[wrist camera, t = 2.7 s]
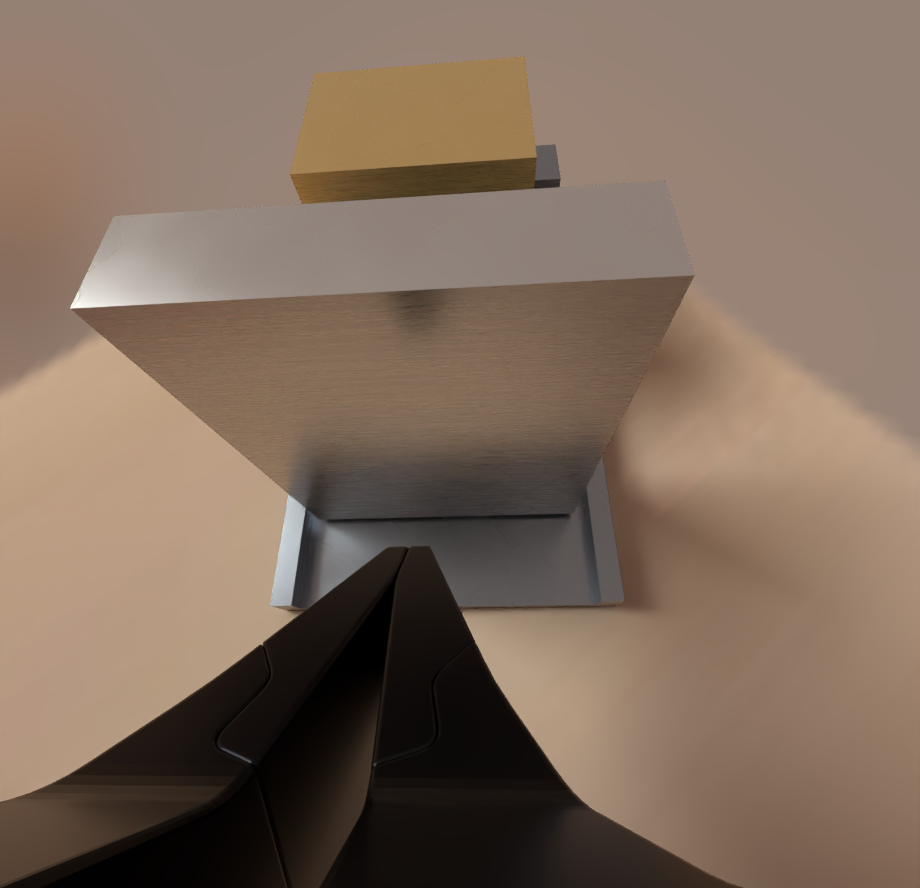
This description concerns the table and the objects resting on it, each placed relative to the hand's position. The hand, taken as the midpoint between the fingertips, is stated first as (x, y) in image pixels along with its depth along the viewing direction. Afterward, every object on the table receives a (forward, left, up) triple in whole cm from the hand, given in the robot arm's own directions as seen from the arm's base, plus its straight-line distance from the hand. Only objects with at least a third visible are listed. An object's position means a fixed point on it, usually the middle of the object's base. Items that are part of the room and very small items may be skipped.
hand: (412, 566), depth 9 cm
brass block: (+9, -6, -7) cm, 13 cm away
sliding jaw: (+3, -2, -7) cm, 8 cm away
